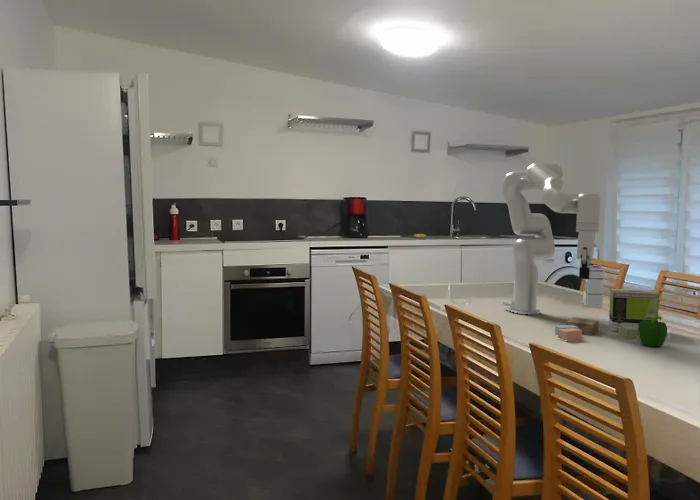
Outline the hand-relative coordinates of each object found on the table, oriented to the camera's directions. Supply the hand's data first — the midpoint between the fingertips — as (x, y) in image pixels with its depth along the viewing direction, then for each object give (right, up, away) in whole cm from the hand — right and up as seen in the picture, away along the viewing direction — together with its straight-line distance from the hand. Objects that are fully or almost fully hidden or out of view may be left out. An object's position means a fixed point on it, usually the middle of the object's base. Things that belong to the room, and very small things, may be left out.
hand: (585, 277), depth 202 cm
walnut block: (0, -20, +2) cm, 20 cm away
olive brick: (+12, -21, -6) cm, 25 cm away
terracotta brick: (-10, -21, -11) cm, 26 cm away
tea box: (+19, -20, +4) cm, 28 cm away
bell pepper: (+14, -22, -18) cm, 32 cm away
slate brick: (-9, -20, -6) cm, 23 cm away
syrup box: (+3, -11, +1) cm, 11 cm away
